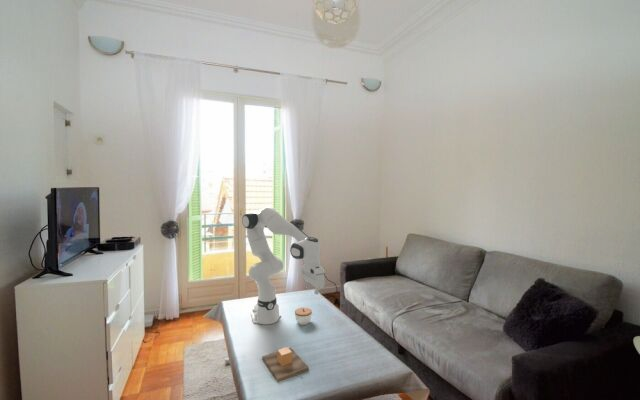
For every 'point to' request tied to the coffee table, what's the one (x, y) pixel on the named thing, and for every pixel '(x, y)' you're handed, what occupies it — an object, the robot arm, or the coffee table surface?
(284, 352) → the wooden toy cube
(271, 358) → the post block
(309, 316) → the lidded jar
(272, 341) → the coffee table surface
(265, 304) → the robot arm
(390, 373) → the coffee table surface
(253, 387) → the coffee table surface
